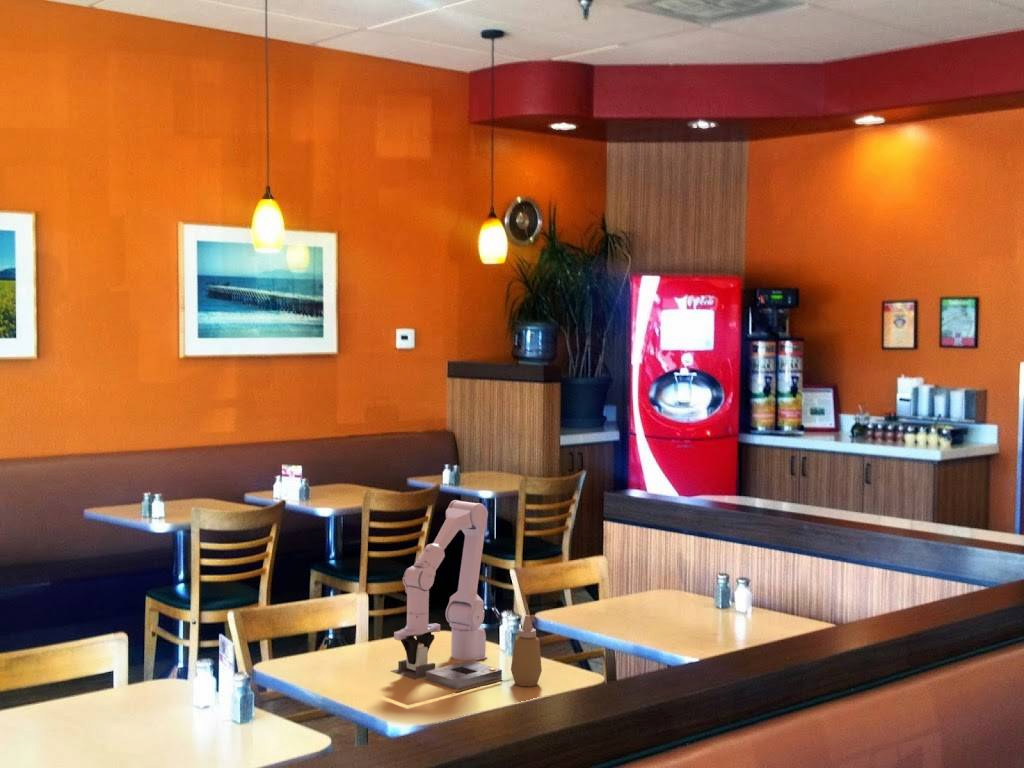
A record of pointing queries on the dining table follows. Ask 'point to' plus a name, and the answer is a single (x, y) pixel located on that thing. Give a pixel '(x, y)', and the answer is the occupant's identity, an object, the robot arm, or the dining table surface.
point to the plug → (419, 657)
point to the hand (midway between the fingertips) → (416, 662)
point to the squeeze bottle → (526, 656)
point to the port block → (464, 675)
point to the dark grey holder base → (411, 673)
